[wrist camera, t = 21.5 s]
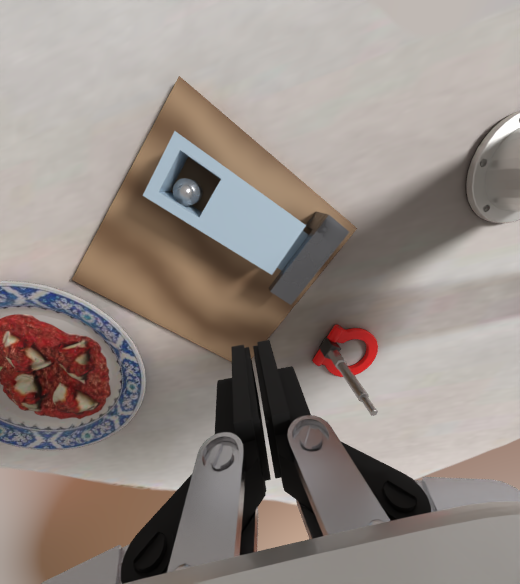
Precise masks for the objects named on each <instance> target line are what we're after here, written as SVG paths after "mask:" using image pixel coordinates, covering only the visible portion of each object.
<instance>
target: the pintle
mask: <svg viewBox="0 0 520 584" xmlns="http://www.w3.org/2000/svg"><path fill="white" fill-rule="evenodd" d="M173 195H174V197H175V199H176V200H177V202H179V203H180V204H182V205H185V206H190V205H193V204H195V203H197V202H199V201H200V200H201V198H202V195H203V191H202V187H201V185H200V184H199V183H198V182H196V181H195V180H191V179H187V178H182V179H179V180H178V181H177V182H176V183H175V184H174V186H173Z"/></svg>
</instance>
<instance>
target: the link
mask: <svg viewBox="0 0 520 584" xmlns="http://www.w3.org/2000/svg"><path fill="white" fill-rule="evenodd" d="M188 157H189V158H191V159H192V160H194V161H195V162H197V163H198V164H199V165H201V166H202V167H204V168H205V169H207V170H208V171H209V172H211V173H212V174H214V175H215V176H217V177H218V178H219V179H221V180H220V182H219V184H218V186H217V187H216V189H215V191H214V193H213V194H212V196H211V198H210V200H209V201H208V203H207V205H206V207H205V208H204V210H203V212H201V211H199V210H198V209H196V208H195V207H193V206H192V205H190V206H185V205H182V204H180V203H179V202H177V200H176V199H175V197H174V195H173V193H171V192H170V191H171V189H172V187H173V185H174V183H175V181H176V179H177V177H178V175H179V173H180V171H181V170H182V168H183V166H184V164H185V162H186V160H187V158H188ZM143 196H144V197H146V198H147V199H149V200H151V201H152V202H154V203H156V204H157V205H159V206H160V207H162V208H164V209H165V210H167V211H169V212H170V213H172V214H173V215H175V216H177V217H178V218H180V219H182V220H183V221H185V222H186V223H188V224H190V225H191V226H193V227H195V228H196V229H198V230H199V231H201V232H203V233H204V234H206V235H208V236H209V237H211V238H212V239H214V240H216V241H217V242H219V243H221V244H222V245H224V246H226V247H227V248H229V249H230V250H232V251H234V252H235V253H237V254H239V255H240V256H242V257H243V258H245V259H247V260H248V261H250V262H252V263H253V264H255V265H256V266H258V267H260V268H261V269H263V270H265V271H266V272H268V273H269V274H271V275H272V274H273V273H274V271H275V270H276V268H278V269H280V270H281V271H282V269H283V268H284V267H285V265H286V264H287V263H288V261H289V260H290V259H291V258H292V256H293V255H294V254H295V252H296V251H297V250H298V248H299V247H300V246H301V244H302V243H303V242H304V240H305V239H306V238H307V236H308V234H307V233H305V232H304V231H303V229H304V228H305V226H306V225H305V224H304V223H302V222H301V221H299V220H298V219H297V218H295V217H294V216H292V215H291V214H290V213H288V212H287V211H286V210H284V209H283V208H281V207H280V206H279V205H277V204H276V203H274V202H273V201H272V200H270V199H269V198H267V197H266V196H265V195H263V194H262V193H260V192H259V191H258V190H256V189H255V188H254V187H252V186H251V185H249V184H248V183H247V182H245V181H244V180H242V179H241V178H240V177H238V176H237V175H235V174H234V173H233V172H231V171H230V170H229V169H227V168H226V167H224V166H223V165H222V164H220V163H219V162H217V161H216V160H215V159H213V158H212V157H210V156H209V155H208V154H206V153H205V152H203V151H202V150H201V149H199V148H198V147H197V146H195V145H194V144H192V143H191V142H190V141H188V140H187V139H185V138H184V137H183V136H181V135H180V134H178V133H177V132H176V131H174V133H173V135H172V137H171V139H170V141H169V143H168V145H167V147H166V149H165V151H164V153H163V155H162V157H161V159H160V162H159V164H158V166H157V168H156V170H155V172H154V174H153V176H152V178H151V180H150V182H149V184H148V186H147V188H146V190H145V192H144V194H143Z"/></svg>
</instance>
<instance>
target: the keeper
mask: <svg viewBox="0 0 520 584" xmlns="http://www.w3.org/2000/svg"><path fill="white" fill-rule="evenodd" d="M306 227H307V228H309V229H310V230H311V233H310V234H309V235H308V236H307V238H306V239H305V240H304V242H303V243H302V244H301V246H300V247H299V248H298V250H297V251H296V252H295V254H294V255H293V256H292V258H291V259H290V260H289V261H288V263H287V264H286V265H285V267H284V268H283V269H282V271H281V272H280V273H279V275H278V276H277V277H276V279H275V280H274V281H273V282H272V284H271V285H270V286H269V290H270V292H272V293H273V294H275V295H276V296H278V297H279V298H281V299H282V300H284V301H285V302H287V303H289V304H290V305H291V304H292V303H293V302H294V301H295V299H296V298H297V297H298V296H299V295H300V293H301V292H302V291H303V290H304V288H305V287H306V286H307V285H308V283H309V282H310V281H311V280H312V278H313V277H314V276H315V275H316V273H317V272H318V271H319V270H320V268H321V267H322V266H323V265H324V263H325V262H326V261H327V260H328V258H329V257H330V256H331V255H332V253H333V252H334V251H335V250H336V248H337V247H338V246H339V245H340V243H341V242H342V241H343V240H344V239H345V237H346V236H347V235H348V234H349V231H348V230H347V229H346V228H344V227H343V226H342V225H341V224H340V223H338V222H337V221H336V220H335V219H334V218H332V217H331V216H330V215H328V214H325V213H321V212H317V211H316V212H315V213H314V214H313V216H312V217H311V218H310V220H309V221H308V222H307V224H306Z"/></svg>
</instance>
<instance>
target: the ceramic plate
mask: <svg viewBox="0 0 520 584" xmlns="http://www.w3.org/2000/svg"><path fill="white" fill-rule="evenodd" d="M145 387H146V377H145V368H144V365H143V362H142V359H141V356H140V354H139V351H138V349H137V348H136V346H135V344H134V343H133V341H132V340H131V338H130V337H129V336H128V334H127V333H126V332H125V331H124V330H123V328H122V327H121V326H120V325H119V324H118V323H117V322H116V321H114V320H113V319H112V318H111V317H110V316H109V315H107V314H106V313H105V312H103V311H102V310H100V309H99V308H97V307H96V306H94V305H93V304H91V303H89V302H87V301H85V300H84V299H82V298H80V297H77V296H75V295H73V294H71V293H68V292H65V291H62V290H60V289H56V288H53V287H49V286H46V285H41V284H36V283H29V282H21V281H0V442H2V443H6V444H10V445H13V446H17V447H23V448H30V449H38V450H63V449H74V448H79V447H83V446H87V445H91V444H94V443H97V442H100V441H102V440H104V439H106V438H108V437H110V436H112V435H113V434H115V433H117V432H118V431H120V430H121V429H122V428H123V427H125V426H126V425H127V424H128V423H129V422H130V421H131V419H132V418H133V417H134V416H135V414H136V413H137V411H138V409H139V408H140V405H141V403H142V400H143V397H144V393H145Z"/></svg>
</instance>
